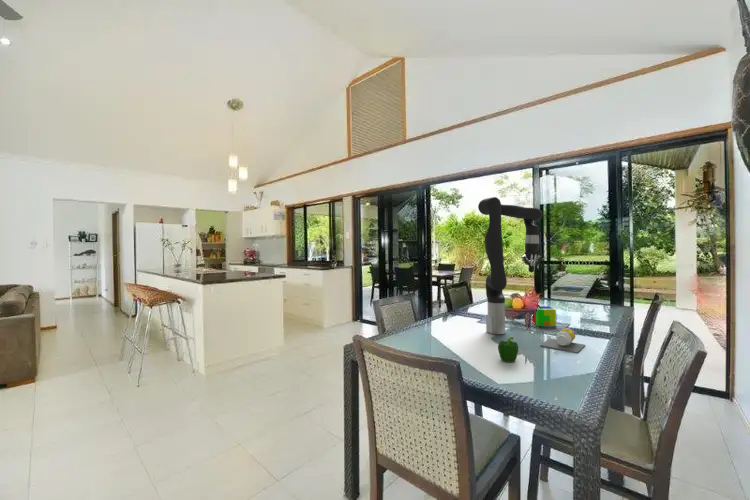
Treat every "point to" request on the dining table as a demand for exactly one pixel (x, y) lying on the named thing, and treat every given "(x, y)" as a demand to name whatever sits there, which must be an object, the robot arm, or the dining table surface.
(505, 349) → the bell pepper
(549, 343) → the mat
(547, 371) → the dining table surface
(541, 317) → the puzzle toy
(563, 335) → the supplement bottle
